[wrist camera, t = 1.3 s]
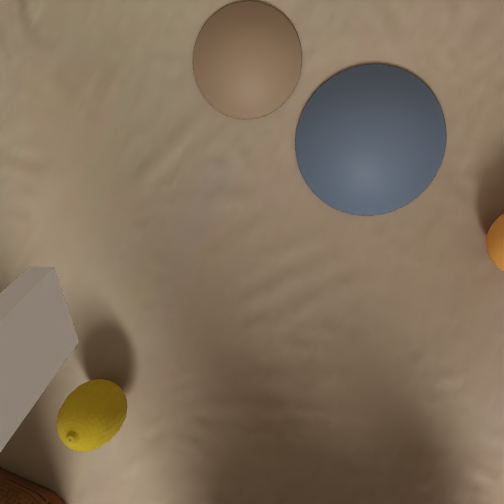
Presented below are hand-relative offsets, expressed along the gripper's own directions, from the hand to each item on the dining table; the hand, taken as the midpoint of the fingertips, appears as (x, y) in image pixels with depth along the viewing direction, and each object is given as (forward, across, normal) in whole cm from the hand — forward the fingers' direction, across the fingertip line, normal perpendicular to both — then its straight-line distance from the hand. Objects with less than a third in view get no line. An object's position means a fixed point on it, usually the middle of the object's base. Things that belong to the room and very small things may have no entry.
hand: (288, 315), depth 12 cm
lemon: (+19, +19, +26) cm, 37 cm away
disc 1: (+29, +5, -3) cm, 30 cm away
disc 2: (+27, -5, +3) cm, 28 cm away
